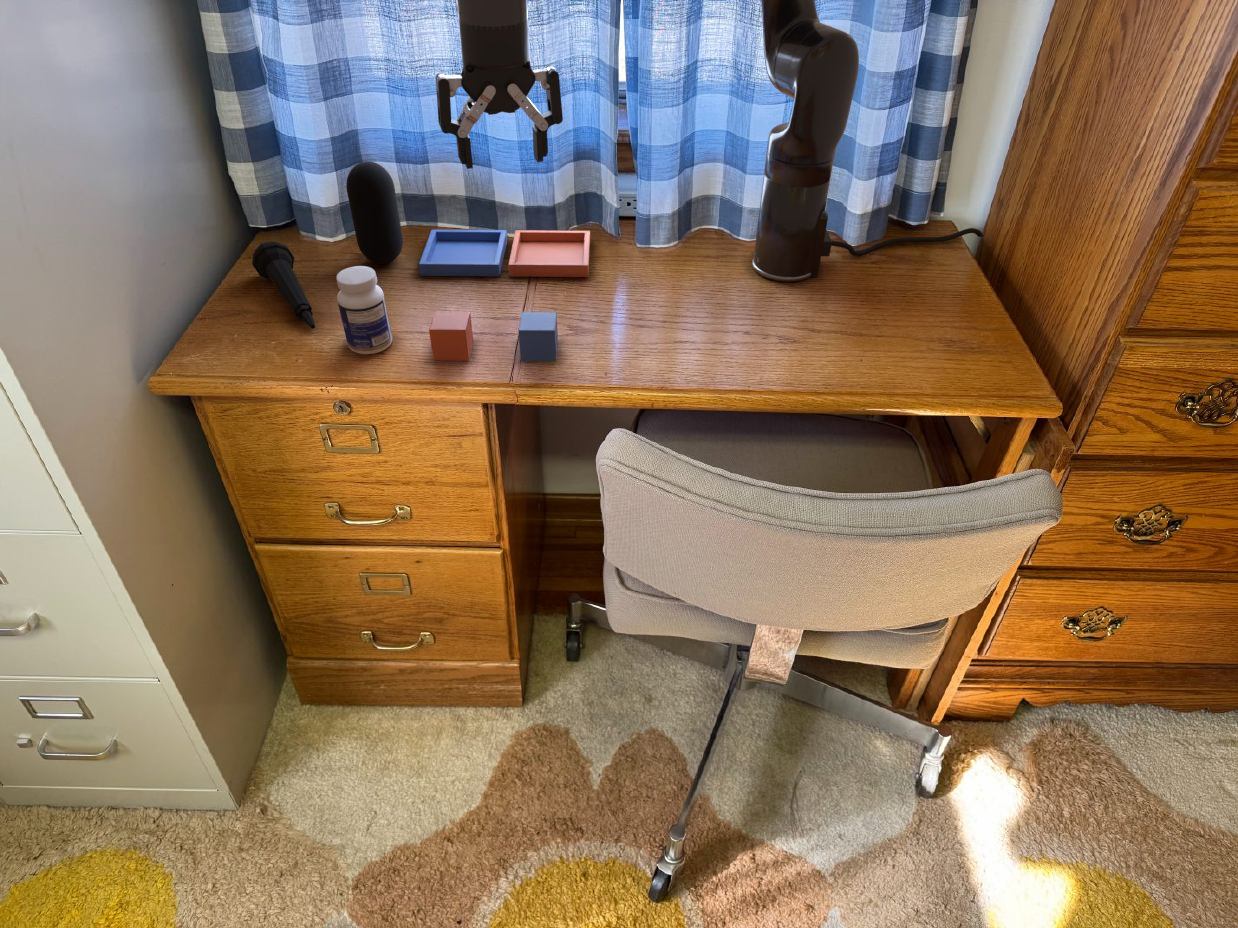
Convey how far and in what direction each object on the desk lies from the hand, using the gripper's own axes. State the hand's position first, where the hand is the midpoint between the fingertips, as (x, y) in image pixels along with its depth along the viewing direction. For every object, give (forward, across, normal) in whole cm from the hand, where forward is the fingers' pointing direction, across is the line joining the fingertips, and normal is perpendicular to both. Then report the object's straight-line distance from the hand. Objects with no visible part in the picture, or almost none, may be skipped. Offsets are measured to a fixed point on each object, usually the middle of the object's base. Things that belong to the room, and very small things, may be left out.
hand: (504, 163), depth 102 cm
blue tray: (+21, -4, +19) cm, 29 cm away
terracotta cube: (+21, -9, -7) cm, 24 cm away
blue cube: (+21, +1, -10) cm, 23 cm away
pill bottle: (+21, -20, -2) cm, 29 cm away
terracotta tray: (+21, +8, +15) cm, 27 cm away
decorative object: (+21, -16, +21) cm, 34 cm away
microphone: (+21, -30, +13) cm, 39 cm away
